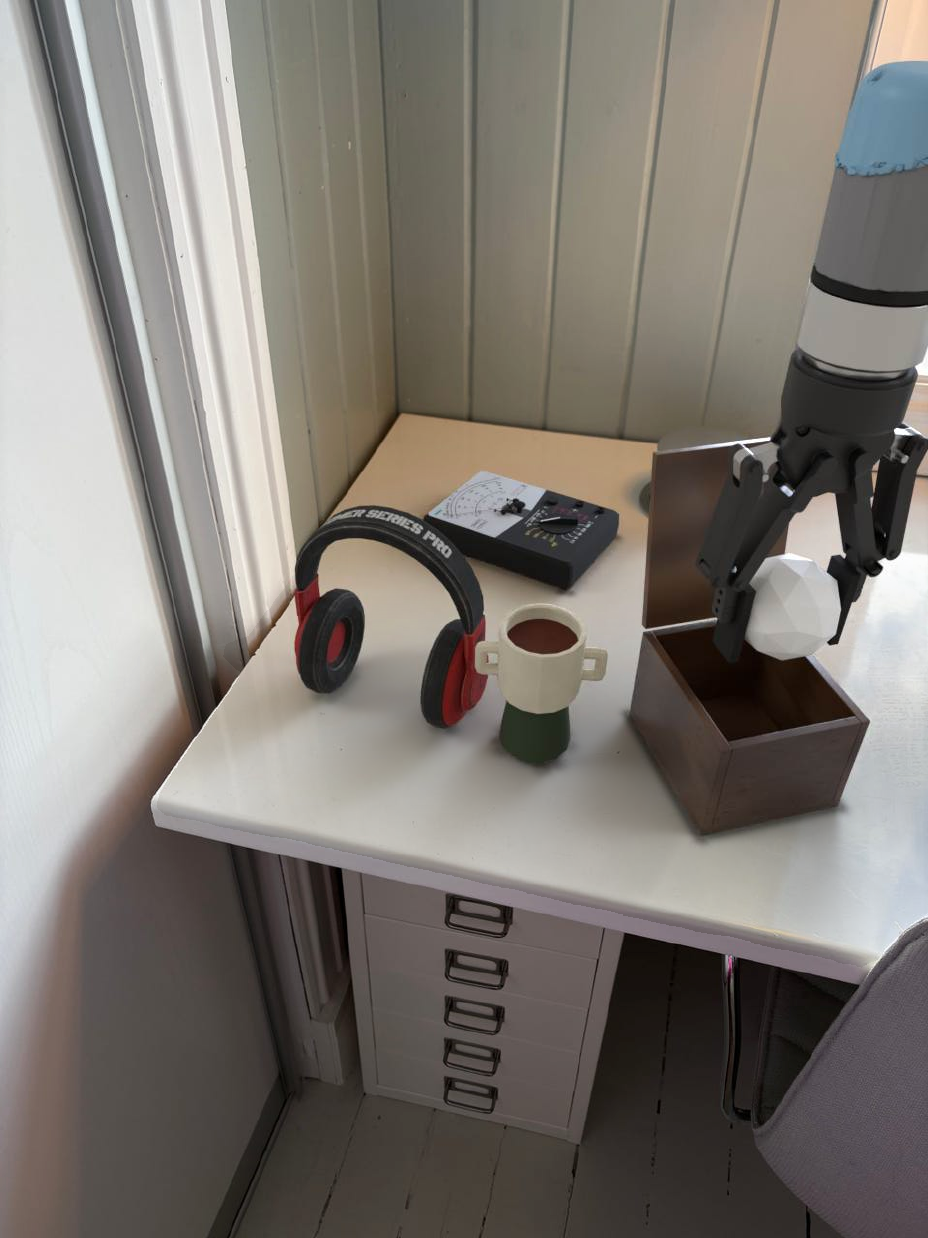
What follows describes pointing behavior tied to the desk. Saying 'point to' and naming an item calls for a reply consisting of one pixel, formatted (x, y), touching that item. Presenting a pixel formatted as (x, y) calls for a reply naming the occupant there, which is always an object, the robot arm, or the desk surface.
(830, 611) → the geometric ball
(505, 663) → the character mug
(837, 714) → the chest
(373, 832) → the desk surface
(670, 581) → the chest lid
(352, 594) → the headphones
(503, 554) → the multimeter
